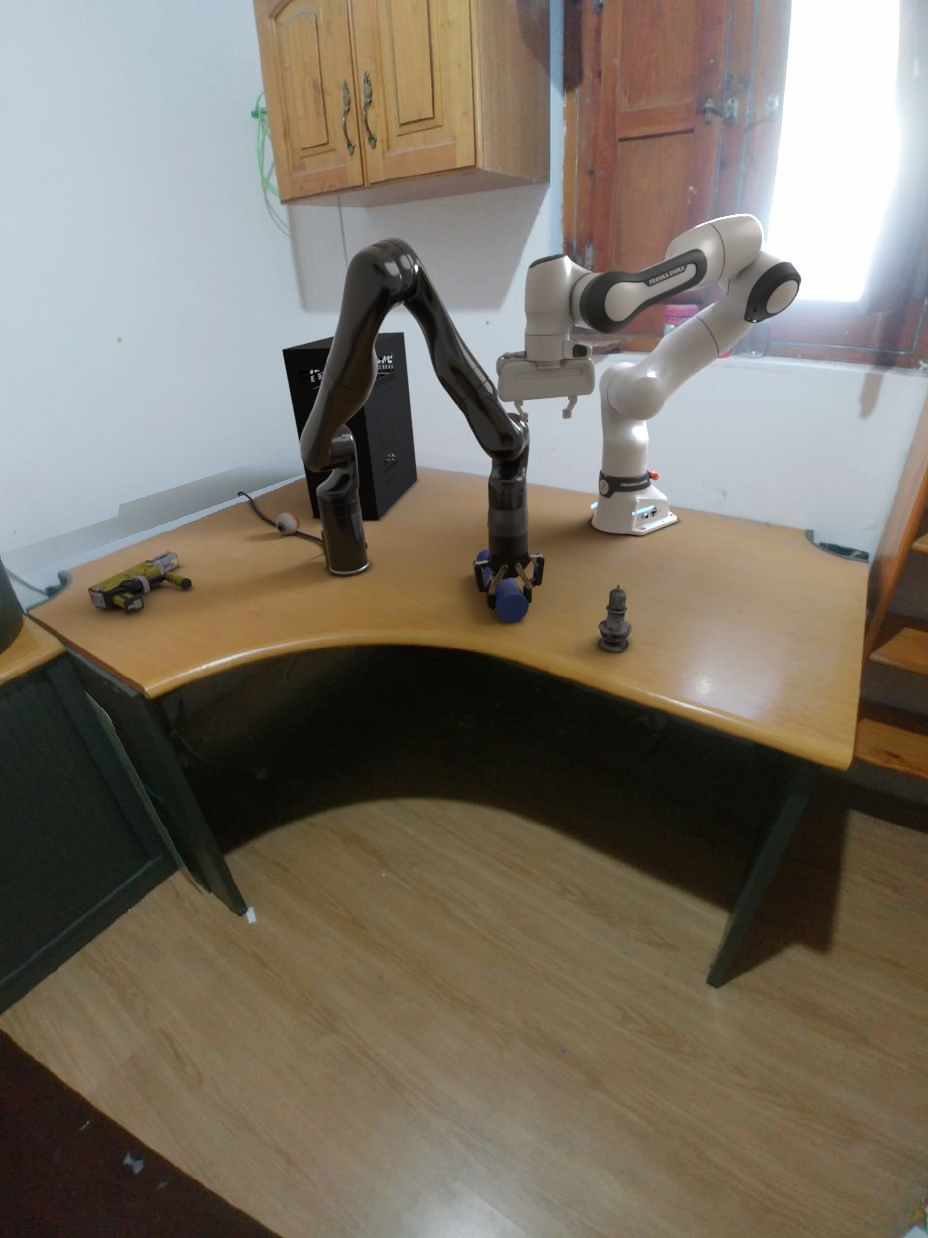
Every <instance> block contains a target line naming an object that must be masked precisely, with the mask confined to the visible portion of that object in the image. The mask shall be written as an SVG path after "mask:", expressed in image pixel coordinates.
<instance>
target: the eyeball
mask: <svg viewBox="0 0 928 1238" xmlns="http://www.w3.org/2000/svg"><path fill="white" fill-rule="evenodd" d="M275 523H276V525H275V527H276V529H277V530H278V531H279V532H280V533H281V534H282V535H285V536H286V535H287V536H289V535H293V534H295V533H294V532H296V531H298V529H299V525H300V522H299V519H298V517H297V516H296V515H295V514H294V513H292V512H287V511H286V512H282V513H280V514H279V515H278V516H277V517H276V520H275Z"/></svg>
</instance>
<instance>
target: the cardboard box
mask: <svg viewBox="0 0 928 1238" xmlns="http://www.w3.org/2000/svg"><path fill="white" fill-rule="evenodd" d="M333 338H334V335H333V336H330V337H325V338H321V339H318V340H314V341H310V342H306V343H302V344H298V345H294V346H291V347H286V348H283V349H281V352H282V357H283V363H284V368H285V371H286V373H285V374H286V379H287V383H288V389H289V394H290V399H291V405H292V410H293V415H294V421H295V428H296V432H297V437H298V442H299V444H300V439H301V435H302V432H303V430H304V427H305V425H306V423H307V421H308V418H309V416H310V414H311V412H312V409H313V407H314V404H315V401H316V398H317V395H318V392H319V388H320V385H321V381H322V376H323V372H324V369H325V365H326V362H327V358H328V356H329V353H330V350H331V346H332V343H333ZM374 347H375V351H376V355H377V360H378V373H377V377H376V380H375V383H374V385H373V388H372V390H371V393H370V396H369V398H368V399H367V401H366V403H365V404H364V405H363V407H362V408H361V409H360V410H359V411H358V412H357V413H356V414H355V415H354V416H353V417H352V418H350V419H349V420H348V421H347V422H346V423H345V425H346V426H347V427H348V428H349V429H350V431H351V433H352V435H353V437H354V441H355V446H356V453H357V464H358V475H359V488H358V493H359V500H360V507H361V514H362V520H372V521H373V520H374V521H379V520H380V519H381V518H382V517H383V516H384V515H385V514H386V513H387V512H388V511H389V510H390V509H391V508H392V507H393V506H394V505H395V504H396V503H397V501H399V499H400V498H401V497H403V495H405V493H406V492H407V491H408V490H409V489H410V488H411V487H412V486H413V485H414V484H415V483H416V482H417V481H418V472H417V471H418V470H417V460H416V459H417V458H416V451H415V450H416V449H415V440H414V426H413V418H412V407H411V395H410V385H409V373H408V363H407V351H406V341H405V332H404V331H397V332H395V331H394V332H378V335H377V337H376V340H375V345H374ZM389 361H391V362H389ZM302 464H303V465H302V466H303V470H304V475H305V480H306V485H307V491H308V497H309V503H310V507H311V512H312V517H313V518H317V519H318V518H319V519H321V516H320V510H319V505H318V500H317V494H316V490H317V488H318V486H319V485H320V484H322V483H323V482H324V481H325V480H327V479H328V478H329V476H330V475H331V473H332V471H333V470H329V471H325V472H313V471H311V470H309V469H308V468H307V467H306V466H305V465H304V463H303V462H302Z"/></svg>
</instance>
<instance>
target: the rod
mask: <svg viewBox="0 0 928 1238" xmlns="http://www.w3.org/2000/svg"><path fill="white" fill-rule="evenodd" d="M488 555H489V547H488V548H485V549H482V550H481V551H480V552H479V553H478V554H477V556H476V558H475V560H477V561H478V562H481V561H485V560H487V558H488ZM491 572H492V570H491V569H490V568H489V567H488V566H487V567H486V568H485V572H484V573H482V576H483V581H484V584H487V582H488V580H489V577H490V574H491ZM494 593H495V611H496V613H497V615H498V617H499V619H500V620H502V621H503V622H505V623H513V624H514V623H517V622H520V621H521V620H522V619H524V618H525V617H526V615H527V614H528V612H529V607H530V604H529V605H528V602H527V600H526V598H525V596H524V594H523V590H522V589H521V588H520V586H519V583H518V582H517V580H516V578H508V579H504V580H501V582H500V584H499V585H498V586H497V588H496V590H495V592H494Z"/></svg>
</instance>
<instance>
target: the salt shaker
mask: <svg viewBox="0 0 928 1238" xmlns="http://www.w3.org/2000/svg"><path fill="white" fill-rule="evenodd" d="M626 602H627V592H626V590H625V589H623V588H622V587H621V585H620V584H617V585H616V587H615V588H613V589H611V590H610V591H609V594H608V604H607V605H606V606H605V610H606V611H607V613H606V619H603V620H601V621H600V622H599V623H598V625H597V627H598V630H599V633H600V636H601V638H599V640H598V645H599V647H600V648H602V649H603V650H605V651H608V652H613V653H614V652H616V653H617V652H622V651H625V650H627V649H628V648H629V645H630V644H629V641H628V640H627V639H628V638H629V635H630V633H631V632H632V630H633V626H632V625H631V624H630V622H628V621H626V612H627V611H628V607H627V605H626Z"/></svg>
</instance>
